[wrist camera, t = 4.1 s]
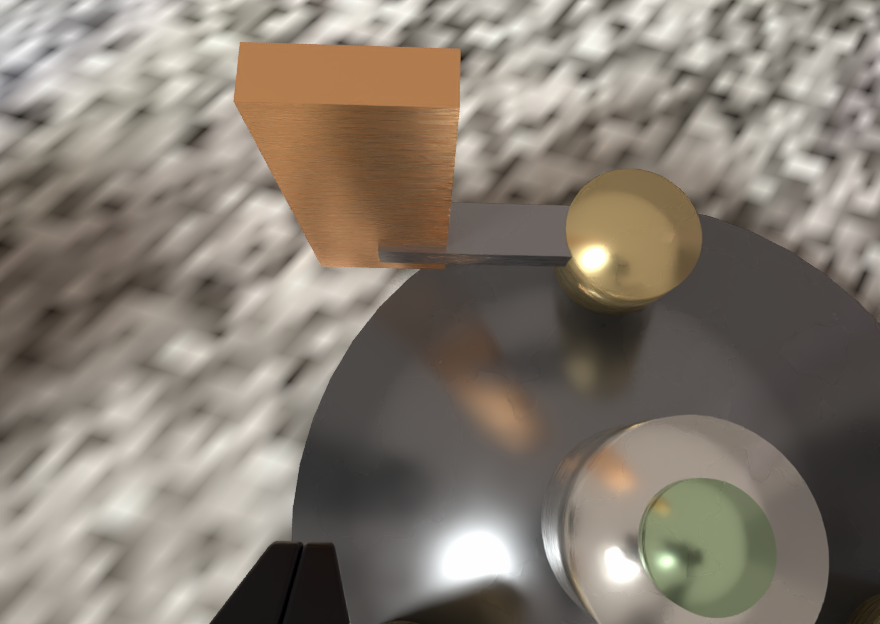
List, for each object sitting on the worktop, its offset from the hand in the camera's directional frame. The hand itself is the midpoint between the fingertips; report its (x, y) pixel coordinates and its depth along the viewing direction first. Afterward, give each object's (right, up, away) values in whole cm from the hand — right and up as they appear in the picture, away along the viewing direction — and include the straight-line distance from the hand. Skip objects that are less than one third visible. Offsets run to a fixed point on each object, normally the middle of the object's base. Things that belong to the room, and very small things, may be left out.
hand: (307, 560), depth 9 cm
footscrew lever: (+4, +5, +12) cm, 14 cm away
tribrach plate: (+8, -3, +12) cm, 14 cm away
